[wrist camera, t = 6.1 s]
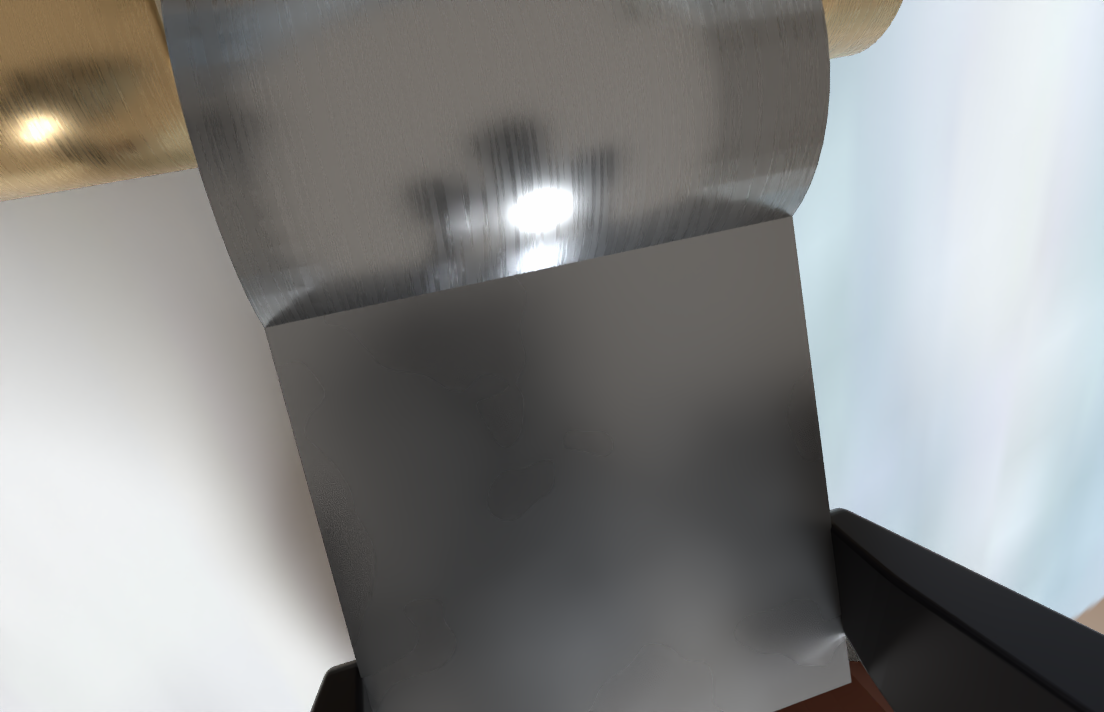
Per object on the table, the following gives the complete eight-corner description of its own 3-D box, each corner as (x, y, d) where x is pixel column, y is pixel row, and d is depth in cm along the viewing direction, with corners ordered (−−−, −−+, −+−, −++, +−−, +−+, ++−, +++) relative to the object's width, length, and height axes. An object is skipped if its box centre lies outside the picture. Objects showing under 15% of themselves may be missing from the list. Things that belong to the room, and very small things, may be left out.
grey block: (739, 582, 12) (906, 731, 8) (400, 694, 11) (412, 930, 7) (645, -23, 10) (802, -187, 7) (225, 30, 9) (113, -136, 5)
